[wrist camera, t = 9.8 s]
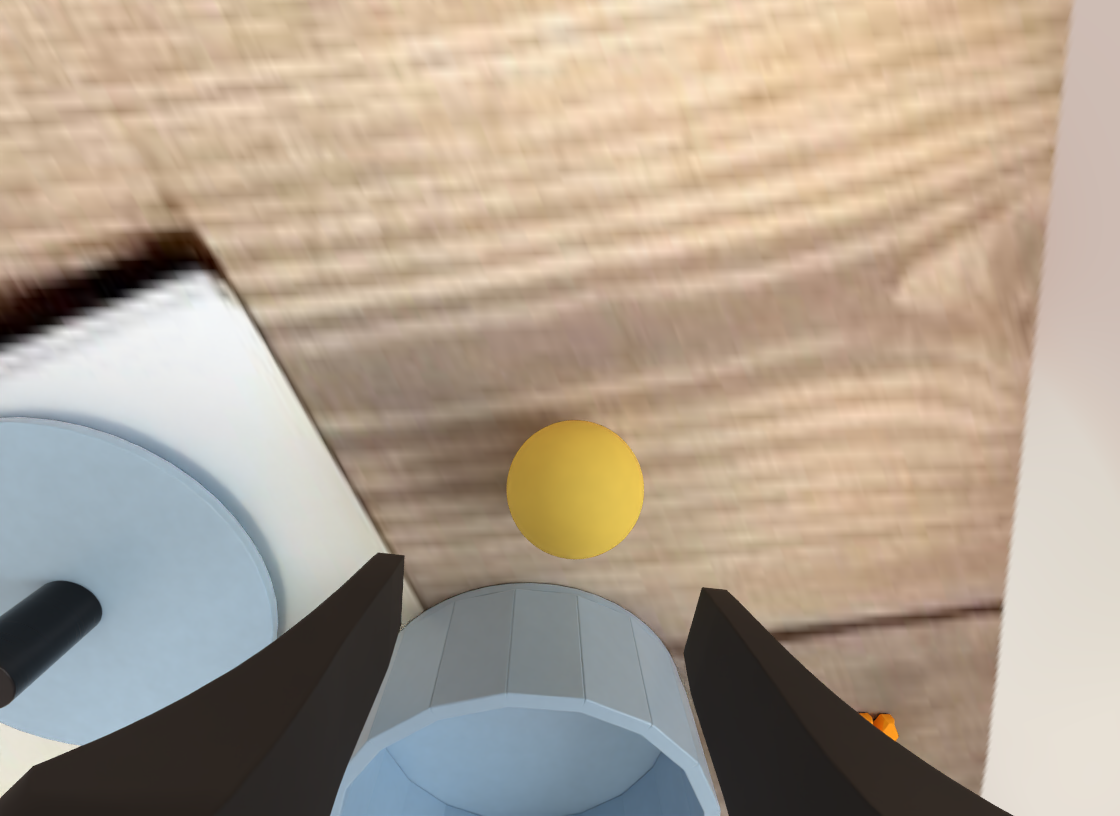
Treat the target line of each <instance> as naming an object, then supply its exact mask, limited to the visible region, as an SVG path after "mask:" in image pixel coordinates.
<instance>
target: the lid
mask: <svg viewBox="0 0 1120 816" xmlns="http://www.w3.org/2000/svg"><path fill="white" fill-rule="evenodd" d="M277 632H278V611H277V600H276V596H275V592H274V588H273V584H272V580H271V578H270V575H269V573H268V571H267V568H266V566H265V563H264V561H263V559H262V557H261V555H260V553H259V552H258V550H257V548H256V547H255V545H254V543H253V541H252V540H251V538H250V537H249V535H248V534H247V533H246V531H245V530H244V529H243V527H242V526H241V525H240V523H239V522H238V521H237V519H236V518H235V517H234V516H233V515H232V514H231V513H230V512H229V511H228V510H227V508H226V507H225V506H224V505H223V504H222V503H221V502H220V501H219V500H218V499H217V498H216V497H215V496H214V495H212V494H211V493H210V492H209V491H208V490H207V489H205V488H204V487H203V486H202V485H201V484H199V483H198V482H197V481H196V480H195V479H193V478H192V477H190V476H189V475H188V474H186V473H185V472H183V471H182V470H180V469H179V468H177V467H176V466H174V465H173V464H171V463H170V462H168V461H166V460H165V459H163V458H161V457H159V456H157V455H155V454H154V453H152V452H150V451H148V450H146V449H144V448H143V447H140V446H138V445H136V444H133V443H131V442H128V441H126V440H124V439H121V438H119V437H117V436H114V435H111V434H108V433H105V432H102V431H98V430H95V429H92V428H89V427H85V426H81V425H76V424H71V423H66V422H61V421H56V420H49V419H37V418H26V417H12V418H0V723H3V724H5V725H8V726H10V727H13V728H15V729H18V730H20V731H23V732H26V733H30V734H33V735H36V736H39V737H42V738H46V739H50V740H55V741H59V742H64V743H68V744H74V745H82V746H83V745H85V744H87V743H90V742H92V741H94V740H97V739H99V738H101V737H104V736H106V735H108V734H111V733H113V732H115V731H117V730H119V729H121V728H124V727H126V726H128V725H130V724H132V723H134V722H136V721H138V720H140V719H142V718H144V717H146V716H148V715H150V714H153V713H155V712H157V711H158V710H160V709H162V708H164V707H166V706H168V705H170V704H172V703H174V702H176V701H178V700H180V699H182V698H183V697H185V696H187V695H189V694H191V693H192V692H194V691H196V690H198V689H199V688H201V687H203V686H204V685H206V684H208V683H210V682H211V681H213V680H215V679H217V678H218V677H220V676H222V675H223V674H225V673H227V672H229V671H230V670H232V669H234V668H235V667H237V666H238V665H240V664H241V663H243V662H244V661H246V660H247V659H249V658H250V657H252V656H253V655H255V654H256V653H258V652H259V651H261V650H262V649H264V648H265V647H266V646H268V645H269V644H271V643H272V642H273V641H275V640H276V639H277Z"/></svg>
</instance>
